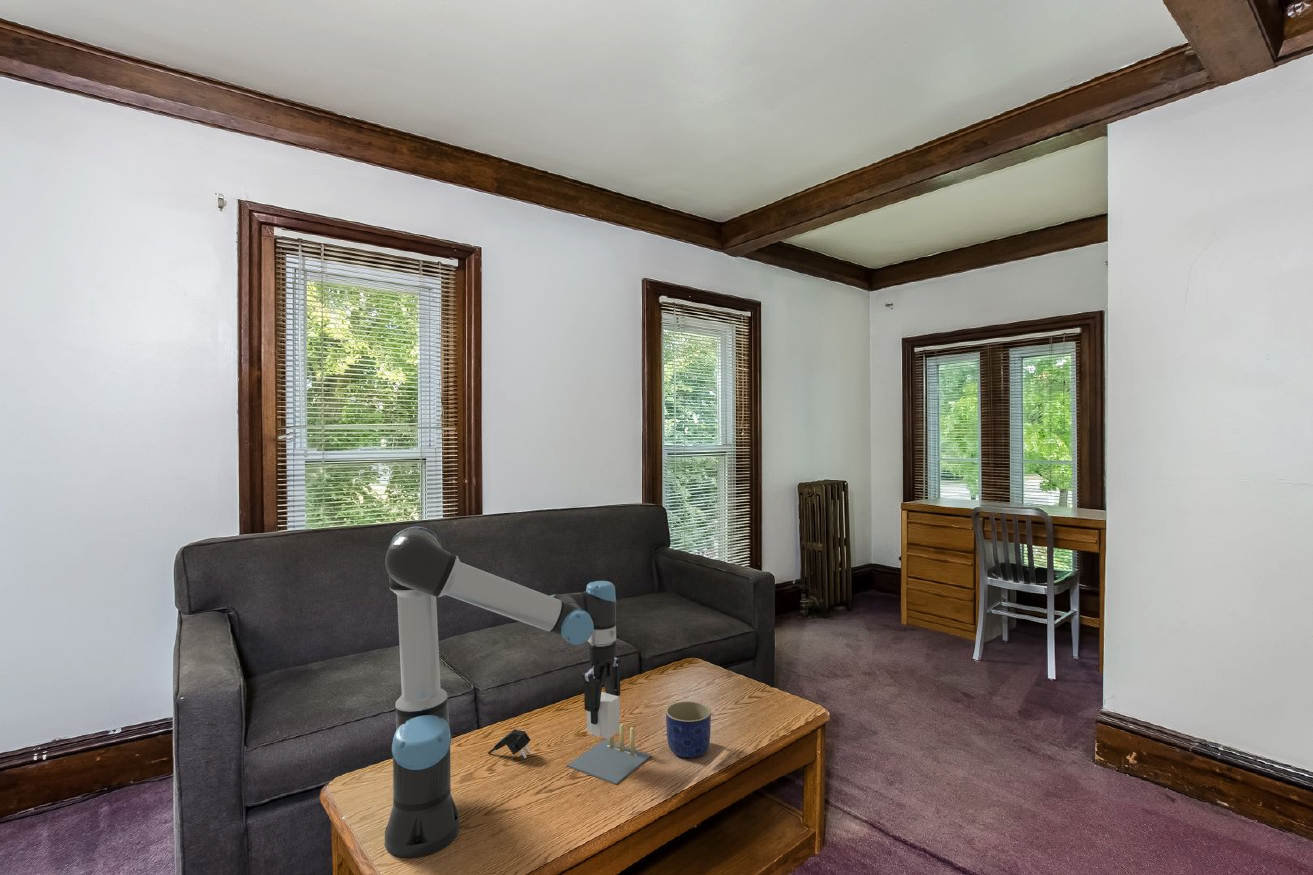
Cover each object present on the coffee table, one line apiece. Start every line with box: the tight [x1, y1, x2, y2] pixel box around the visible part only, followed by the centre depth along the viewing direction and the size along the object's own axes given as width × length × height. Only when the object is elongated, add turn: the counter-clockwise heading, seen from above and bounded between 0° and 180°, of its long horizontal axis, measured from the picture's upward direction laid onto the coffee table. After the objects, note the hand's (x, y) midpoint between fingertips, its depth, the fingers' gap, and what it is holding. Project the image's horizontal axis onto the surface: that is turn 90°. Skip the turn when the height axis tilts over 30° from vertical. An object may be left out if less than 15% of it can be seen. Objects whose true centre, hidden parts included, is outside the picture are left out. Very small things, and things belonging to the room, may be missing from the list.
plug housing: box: [586, 691, 621, 740], centre depth 160 cm, size 5×7×9 cm
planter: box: [665, 700, 712, 759], centre depth 168 cm, size 12×12×11 cm
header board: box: [566, 723, 652, 785], centre depth 163 cm, size 16×16×7 cm
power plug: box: [487, 728, 532, 759], centre depth 166 cm, size 6×8×12 cm
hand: (603, 730), depth 160 cm, fingers closed on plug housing, 5 cm apart
